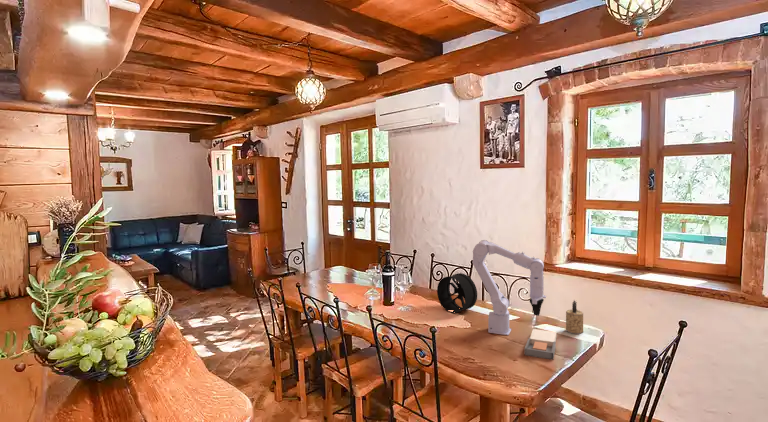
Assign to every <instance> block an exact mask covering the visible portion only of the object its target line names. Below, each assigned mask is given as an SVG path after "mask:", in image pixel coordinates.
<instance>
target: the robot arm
mask: <svg viewBox="0 0 768 422" xmlns="http://www.w3.org/2000/svg"><path fill="white" fill-rule="evenodd" d="M494 254H497V255H499V256H501V257H504V258H507V259H510V260H512V261H513V263H514V264H515V265H517V266H520V267H522V268H524V269H527V270H529V272H530V274H529V275H530V276H529V303H530V306H531V307H532V312H533V315H534V316H537V317H539V316H540V314H541V308H542V305H543V303H544V301H545V300H544V299H546V298H547V295H544V285H545V284H544V282H545V281H544V278H545V277H544V267H545V264H544V261H543V260H542V259H540V258H538V257H534V256H532V257H531V256H530V255H527V254H525V252H524V251H522V252H520V251H519V252H514V251H511V250H510V249H508V248H505V247H503V246H501V245H499V244H496V243H494V242H492V241H488V240H486V239H483V240H480V241H479V242H478V243H477V244H475V246H474V248H473V250H472V265H473V266H474V268H475V271H476V272H477V275H478V276H479V278H480V280H481V281H482V284H483V285H484V287H485V289H486V292H487V293H488V294H489V296H490V302H491V305H492V310H493V311H490V312H489V313H488V317H487V318H488V319H487V321H488V326H487V327H488V328H487V329H488V331H487V332H488V333H490V334H498V335H504V336H509V335H510V333H511V331H512V328H510V311H509V310H508V308H509V306H510V301H509V299H508V298H507V297H505V295H504V293H502V292H501V291H500V289H499V287H498V285H497V283H496V281H495V280H494V278H493V276H492V274H491V273H490V270H489V268H488V267H487V265H486V263H485V260H486V257H487V255H494Z"/></svg>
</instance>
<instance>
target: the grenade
mask: <svg viewBox="0 0 768 422" xmlns="http://www.w3.org/2000/svg"><path fill="white" fill-rule="evenodd" d="M571 304H572V305H571V306H572V308H571V309H568V310H566V311H565V330H566V332H567V333H569V334H575V335H579V334H582V333H584V312H583V311H581V310H579V309H578V308H577V304H578V302H577V301H576V300H575V299H573V301H572V303H571Z"/></svg>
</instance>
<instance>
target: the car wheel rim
mask: <svg viewBox="0 0 768 422" xmlns="http://www.w3.org/2000/svg"><path fill="white" fill-rule="evenodd" d="M451 281H453V282H451ZM451 286H452V288H453V293H451V289H450V288H451ZM477 290H478V289H477V286H476V284H475V282H474V280H472V278H471V277H470V276H469V275H467V274H465V273H462V272H461V273H458V272H457V273H454V274H453V275H450V276H444V277H443V278H441V279H440V280H439V282H438V284H437V289H436V294H437V295H436V296H437V299H438V301H439V304H440V305H441V307H442V308H443V309H444V310H445V311H447V310H454V311H453V312H455V313H454V314H457V313H461V312H462V311H465V310H469V309H471V308H473V307H474V306H475V305H476V303H477V300H478V291H477ZM456 294H457V296H456V297H455V298H453V297H452V296H454V295H456ZM457 299H458V300H459V301H461V303H460V304H461V306H460V305H458V303H456V302H457V301H456V300H457ZM459 308H460V309H459Z"/></svg>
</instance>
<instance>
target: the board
mask: <svg viewBox="0 0 768 422" xmlns="http://www.w3.org/2000/svg"><path fill="white" fill-rule="evenodd" d="M557 336H558V335H557V331H551V330H545V329H544V330H543V329H535V328H533V329H532V331H531V334H530V337H529V338H530V344H534V343H535V342H542V343H547V346H550V347H552V346H553V342H554V341H555V342H556V341H557ZM556 343H557V342H556Z"/></svg>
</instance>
